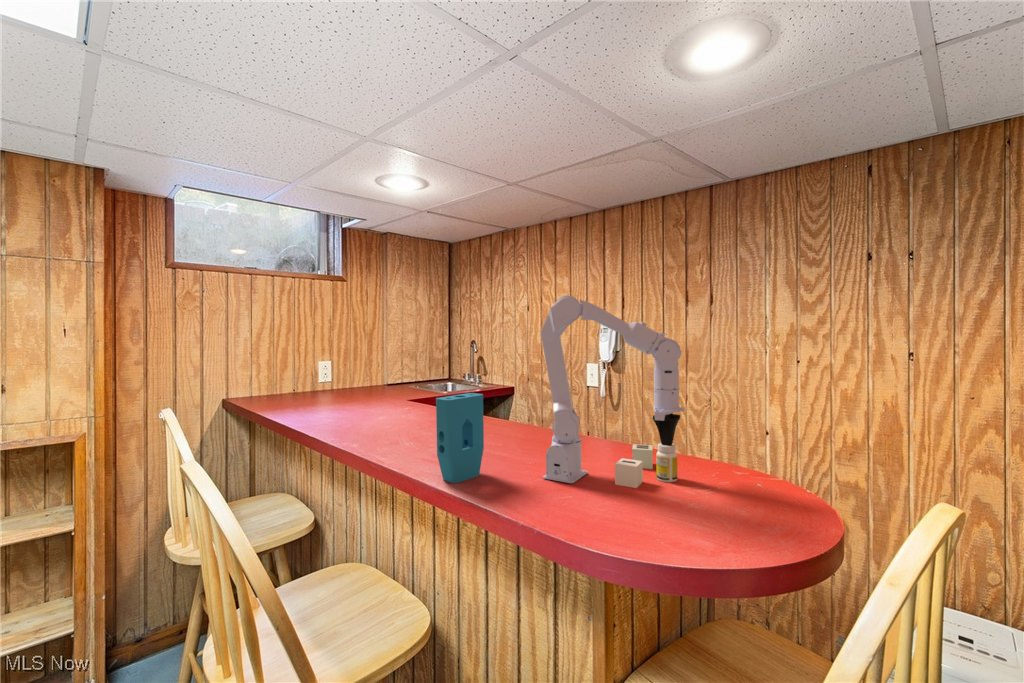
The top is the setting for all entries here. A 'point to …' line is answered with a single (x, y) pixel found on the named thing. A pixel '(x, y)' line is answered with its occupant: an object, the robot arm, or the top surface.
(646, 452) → the numbered block two
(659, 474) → the supplement bottle
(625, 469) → the numbered block one
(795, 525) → the top surface
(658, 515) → the top surface
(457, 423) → the block
